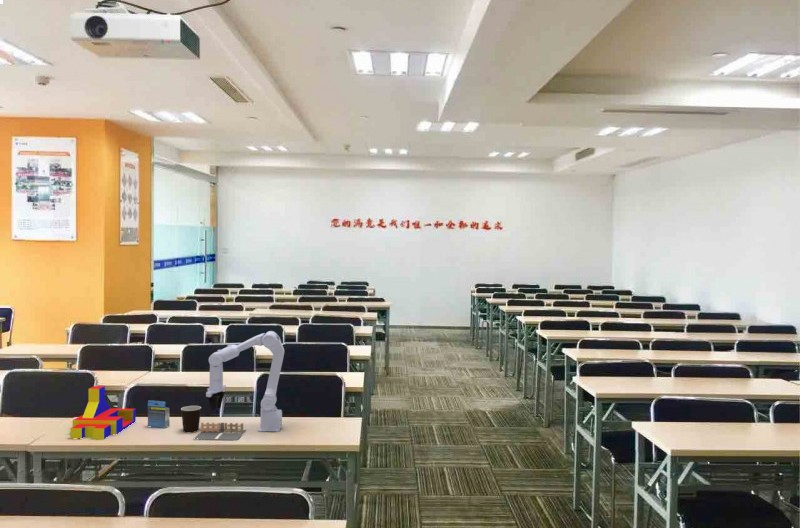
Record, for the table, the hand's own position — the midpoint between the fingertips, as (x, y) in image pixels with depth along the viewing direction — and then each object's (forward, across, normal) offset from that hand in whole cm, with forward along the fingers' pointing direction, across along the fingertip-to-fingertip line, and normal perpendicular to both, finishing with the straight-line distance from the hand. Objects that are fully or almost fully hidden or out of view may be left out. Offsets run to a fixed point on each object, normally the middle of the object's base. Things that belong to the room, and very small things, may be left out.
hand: (215, 409), depth 259 cm
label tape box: (+10, +1, -28) cm, 29 cm away
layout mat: (+9, +6, +5) cm, 12 cm away
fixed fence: (+9, +3, +9) cm, 13 cm away
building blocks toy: (+10, +11, -49) cm, 51 cm away
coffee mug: (+10, +1, -11) cm, 14 cm away
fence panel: (+9, +5, 0) cm, 10 cm away
